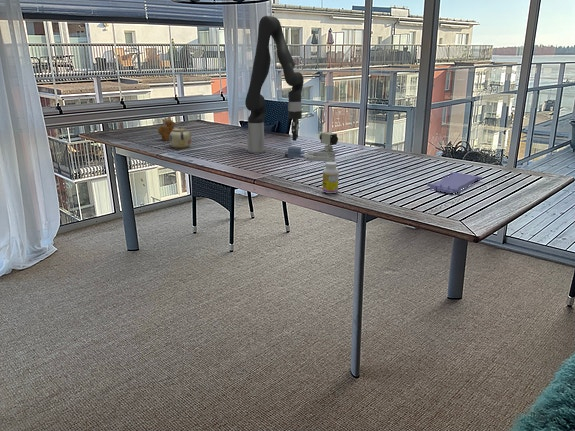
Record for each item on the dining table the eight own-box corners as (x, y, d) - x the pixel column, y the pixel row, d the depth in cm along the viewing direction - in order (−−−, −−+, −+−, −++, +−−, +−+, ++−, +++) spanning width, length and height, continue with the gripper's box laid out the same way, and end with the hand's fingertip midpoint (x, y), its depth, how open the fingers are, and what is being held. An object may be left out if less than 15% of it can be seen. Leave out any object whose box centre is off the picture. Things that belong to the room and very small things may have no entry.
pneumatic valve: (332, 153, 273) (332, 133, 269) (319, 150, 282) (319, 130, 278) (339, 152, 276) (339, 132, 272) (326, 149, 285) (326, 129, 281)
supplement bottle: (321, 190, 202) (322, 161, 197) (336, 190, 202) (337, 161, 198) (323, 194, 195) (324, 164, 191) (339, 194, 196) (340, 164, 192)
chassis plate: (305, 160, 256) (305, 156, 255) (307, 154, 270) (307, 151, 269) (334, 161, 254) (334, 157, 253) (335, 155, 268) (335, 152, 267)
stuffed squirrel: (182, 139, 315) (180, 119, 311) (167, 142, 304) (165, 122, 299) (171, 137, 320) (170, 118, 316) (156, 141, 309) (154, 121, 304)
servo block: (284, 156, 265) (284, 148, 263) (285, 155, 269) (285, 146, 267) (303, 157, 263) (303, 148, 262) (304, 155, 267) (304, 147, 266)
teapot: (164, 147, 291) (161, 125, 286) (182, 143, 300) (180, 123, 295) (181, 151, 277) (179, 129, 273) (200, 148, 286) (198, 126, 281)
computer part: (424, 190, 203) (457, 197, 194) (425, 181, 202) (459, 187, 193) (450, 177, 225) (482, 182, 216) (452, 168, 223) (483, 173, 214)
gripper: (289, 108, 264) (290, 137, 270) (286, 111, 251) (287, 141, 256) (302, 108, 264) (303, 137, 269) (300, 111, 250) (300, 141, 256)
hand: (295, 139), depth 263 cm, fingers open, 8 cm apart
